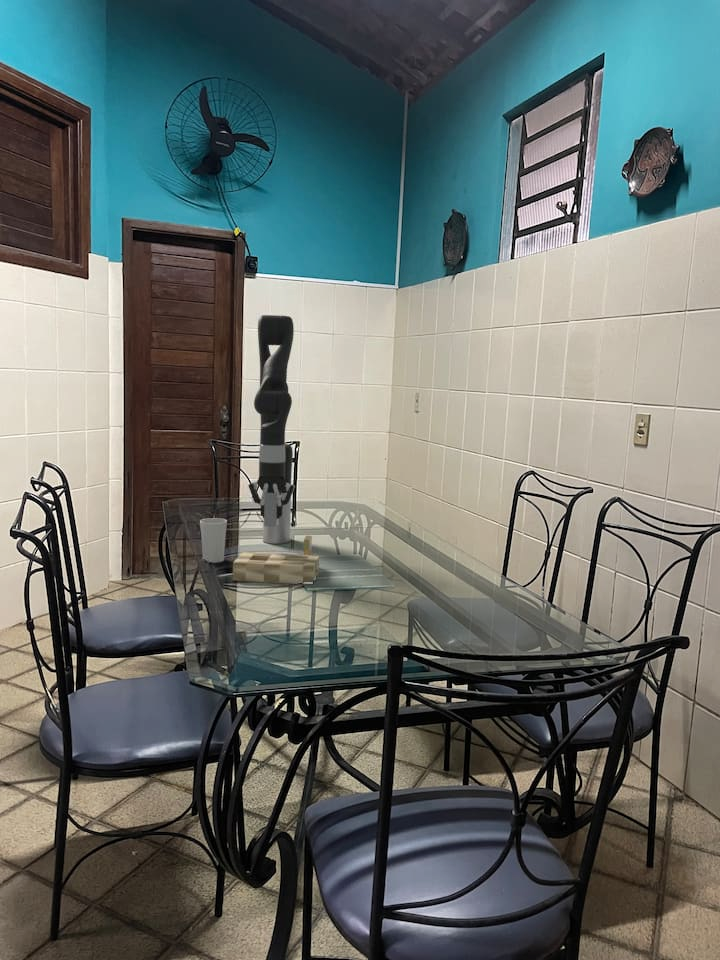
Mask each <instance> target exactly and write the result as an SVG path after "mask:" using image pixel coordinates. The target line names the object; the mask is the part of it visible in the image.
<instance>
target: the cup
mask: <svg viewBox="0 0 720 960" xmlns="http://www.w3.org/2000/svg"><path fill="white" fill-rule="evenodd" d="M227 525H228V520H227V519H225V518H218V517H213V518H211V517H210V518H203V519H200V520H199V526H200V528H199V529H200V535H201V536H200V537H201V552H202V560H203V559H205V560H207V561H209V562H208V563H210V562H212V563H214V564H215V563H221V562H224V561H225V549H226V548H225V547H226V536H227V535H226V533H227Z"/></svg>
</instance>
